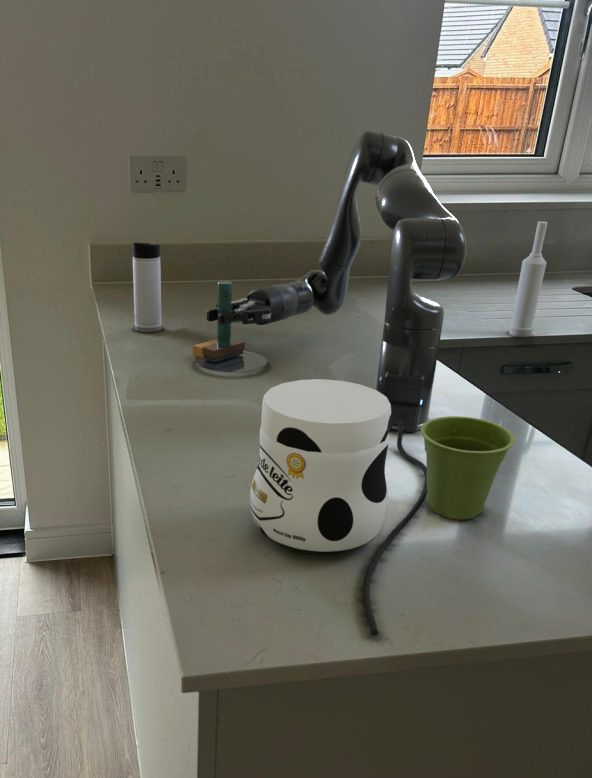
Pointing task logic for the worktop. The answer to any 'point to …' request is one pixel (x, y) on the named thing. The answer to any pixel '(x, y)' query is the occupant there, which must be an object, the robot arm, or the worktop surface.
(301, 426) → the milk container
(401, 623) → the worktop surface
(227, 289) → the peg on stand
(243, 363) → the turntable plate
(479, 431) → the plant pot
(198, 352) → the block
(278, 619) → the worktop surface
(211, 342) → the crust
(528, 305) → the bottle
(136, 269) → the travel mug
